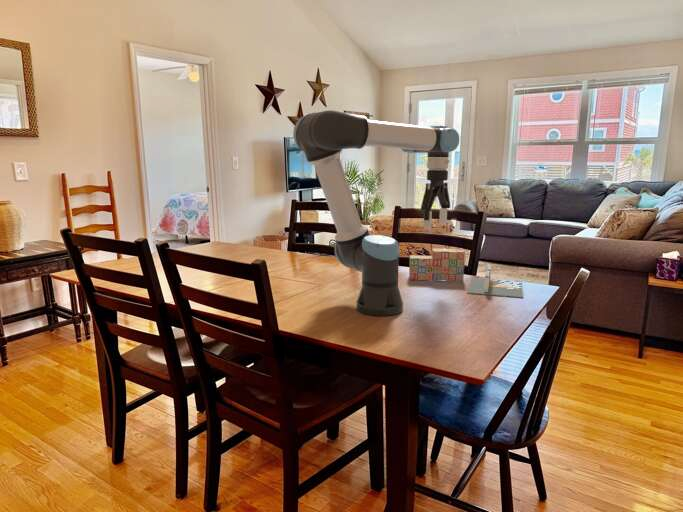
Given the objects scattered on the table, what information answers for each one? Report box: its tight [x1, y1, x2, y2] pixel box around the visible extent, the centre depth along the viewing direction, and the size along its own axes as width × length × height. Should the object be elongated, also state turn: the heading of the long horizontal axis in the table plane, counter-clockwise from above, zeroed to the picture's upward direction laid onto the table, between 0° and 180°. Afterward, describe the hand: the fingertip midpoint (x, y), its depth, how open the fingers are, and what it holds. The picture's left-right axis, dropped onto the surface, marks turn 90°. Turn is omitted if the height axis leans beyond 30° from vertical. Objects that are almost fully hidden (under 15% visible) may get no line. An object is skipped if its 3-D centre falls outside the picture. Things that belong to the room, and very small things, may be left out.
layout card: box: [466, 277, 524, 299], centre depth 180 cm, size 23×19×1 cm
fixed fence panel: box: [486, 263, 492, 270], centre depth 187 cm, size 9×1×7 cm, turn 161°
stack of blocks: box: [408, 248, 466, 282], centre depth 193 cm, size 21×6×12 cm, turn 85°
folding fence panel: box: [484, 268, 492, 292], centre depth 177 cm, size 11×2×6 cm, turn 161°
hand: (435, 227), depth 178 cm, fingers open, 13 cm apart
